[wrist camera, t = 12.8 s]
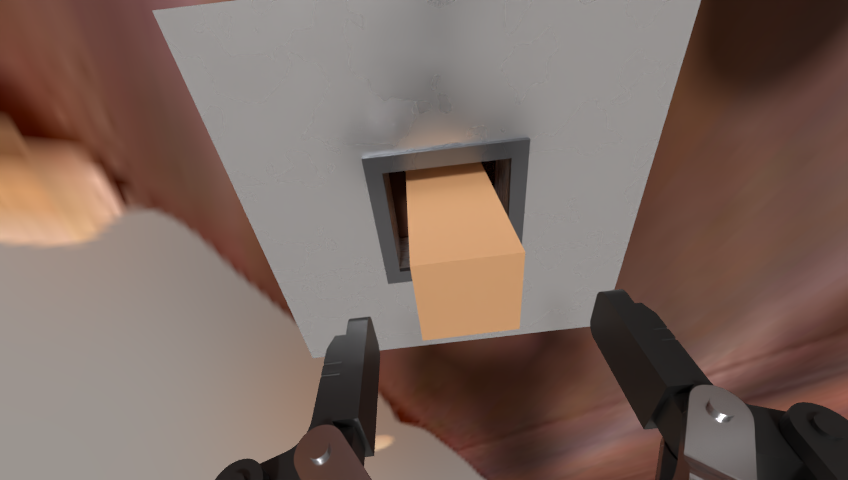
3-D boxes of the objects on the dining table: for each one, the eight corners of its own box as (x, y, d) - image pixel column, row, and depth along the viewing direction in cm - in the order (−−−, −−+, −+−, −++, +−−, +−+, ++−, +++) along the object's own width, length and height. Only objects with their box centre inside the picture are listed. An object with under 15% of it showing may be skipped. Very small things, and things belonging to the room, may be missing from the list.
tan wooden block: (476, 153, 19) (525, 252, 12) (478, 215, 22) (519, 328, 14) (405, 163, 19) (410, 266, 12) (414, 223, 22) (422, 340, 14)
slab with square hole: (665, -50, 15) (725, -60, 12) (584, 293, 26) (605, 328, 24) (193, 7, 15) (147, 10, 12) (320, 324, 26) (311, 361, 24)
